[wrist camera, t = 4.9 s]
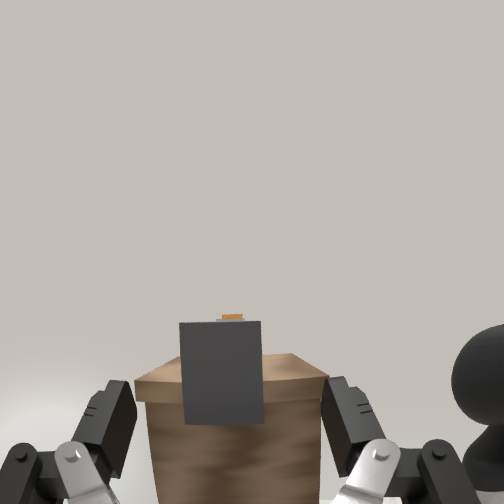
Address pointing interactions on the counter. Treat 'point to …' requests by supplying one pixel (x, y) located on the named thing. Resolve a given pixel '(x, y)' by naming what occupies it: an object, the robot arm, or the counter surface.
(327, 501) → the counter surface
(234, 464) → the wooden lidded box
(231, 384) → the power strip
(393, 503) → the counter surface
